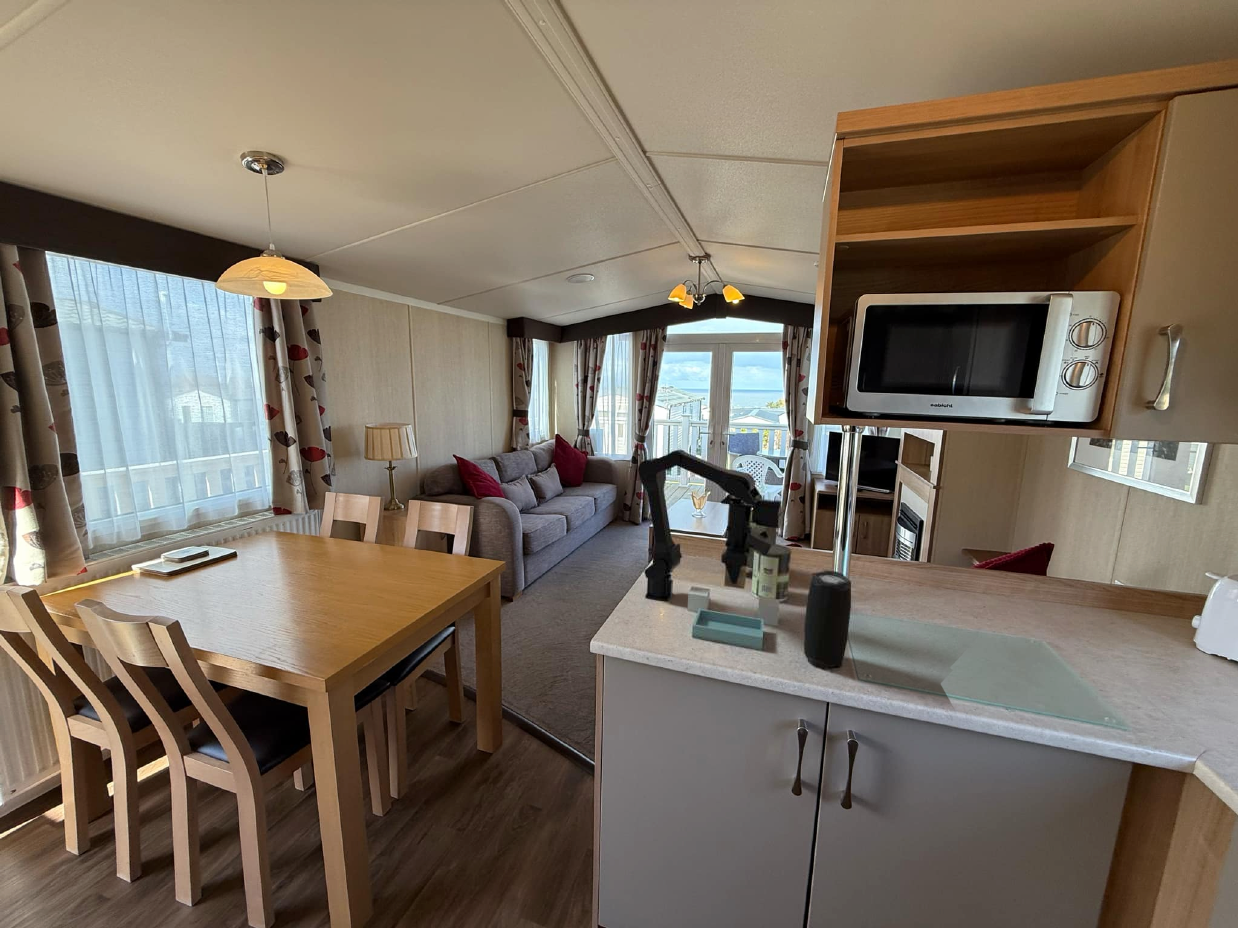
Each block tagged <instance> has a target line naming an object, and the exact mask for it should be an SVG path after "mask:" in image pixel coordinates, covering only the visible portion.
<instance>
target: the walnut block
mask: <svg viewBox="0 0 1238 928" xmlns="http://www.w3.org/2000/svg"><path fill="white" fill-rule="evenodd" d="M724 570H725V571H724V583H723V585H724V586H725V587H729V588H737V589H743V590H744V589H745V586H746V580H747V578H746V577H747V567H746V566H742V567H741V569H740V573H739V576H738V580H737V583H736V584H732V582H731V579H730V576H729V574H728V571H727V569H726V566H725V568H724Z"/></svg>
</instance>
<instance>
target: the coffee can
mask: <svg viewBox="0 0 1238 928" xmlns="http://www.w3.org/2000/svg"><path fill="white" fill-rule="evenodd" d="M791 555H792V549H791V548H790V547H788V546H785V545H781V544H777V543H776V544H772V546H771V548H770V550H769V552H768V554H767V555H764V554H762V553H761V552H759V551H757V550H755V549H754V563H753V568H752V578H751V579H752V580H751V590H750V592H751V595H752V596H753V597H755V598H757V599H758V598H759V597H765V598H771V599H778V600H779V603H780V602H783V601H786V600H787V599H788V592H789V579H790V578H789V577H790V569H791V567H790V566H791Z"/></svg>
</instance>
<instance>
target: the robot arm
mask: <svg viewBox="0 0 1238 928" xmlns="http://www.w3.org/2000/svg"><path fill="white" fill-rule="evenodd" d="M676 466H677V467H679V468H681V469H684V470H685V471H688V472H690V473H691V474H692V473H693V474H694V475H697V476H699V477H701V478H703V479H705V480H708V481H710V482H712V483H715V484H716V485H718V487H719V488H720V489H722V491H724V492H726V493H727V495H726V496H725V498H723V499H721V501H720V504H722V505H728V509H727V513H728V514H727V525H726V540H725V547H726V548H725V549H723V551H722V553H721V560H720V561H721V563H722V564H724V566H725V567H726V569H727V571H728V574H729V576H730V579H731V582H732V584H736V583H737V580H738V576H739V573H740V569H741V567H742V566H747V563H748V553H749V552H750V547H751V548H753V549H755V550H757V551H759V552H761V553H762V554H764V555H767V554H768V552H769V550H770V548H771V546H772V540H771V539H770V538H768V532H766V531H764V530H762V531H761V532H759V533H757V532H756V533H755V532H753V531H751V530H752V526H751V525H750V523H751V510H752V520H753V522H754V523H756V525H759V526H766V527H772V528H776V529H781V526H782V523H783V515H784V512H783V506H782V502H783V501H781V500H776V499H775V500H771V499H763V496H762V495H761V493H760V492H759V490H758V488H757V487H756V481H755V479H754V476H752V474H751V473H747V472H744V471H739V470H734V469H727V468H723V467H720V466H718V465H716V464H714V463H712V462H709V461H708V460H707V461H706V460H704V459H702V458H700V457H697V456H695V455H693V454H690V453H689V452H686V451H685V450H683V449H676V450H672V451H671V452H669V453H667V454H665V455H663V456H660V457H653V458H649V459H645V460H642V461H641V462H640V463H639V465H637V474H638V476H639V477H638V478H639V479H640V483H641V485H642V486H643V488H644V489H645V491H646V494H647V499H648V504H649V505H648V506H649V512H650V518H651V524H652V529H653V536H654V544H653V545H654V546H653V551H652V564H650V566H648V567H647V568H646V569H644V570H643V572H644V576H645V578H646V579H647V583H646V584H647V585H646V594H645V595H644V598H646V599H650V600H656V601H657V600H658V601H662V602H663V601H664V602H667V601H669V600H670V598H671V597H672V595H673V589H674V580H673V579H672V573H673V572H674V570H675V569H676V568H677V567H678V566H679V565H680V564H681V559H682V558H683V555H682V553H681V544H680V543H675V542H674V540H673V538H672V534H671V527H670V521H669V515H668V507H667V501H666V497H665V495H666V494H665V485H666V480H667V471H668V470H670V469H672V468H674V467H676Z"/></svg>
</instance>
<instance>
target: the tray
mask: <svg viewBox="0 0 1238 928" xmlns="http://www.w3.org/2000/svg"><path fill="white" fill-rule="evenodd" d="M691 631H692V632H691V637H692V638H694V639H700V640H705V641H706V640H707V641H710V642H717V643H721V642H722V643H723V644H726V645H727V644H728V645H732V646H738V647H743V648H748V649H755V650H760V651H762V649H763V637H764V636H763V635H764V619H758V617H752V616H751V617H750V616H746V615H739V614H733V613H727V612H721V611H715V610H711V609H708V610H704V609H699V610H698V612H696V615H695V618H694V621H693V623H692V630H691ZM722 643H721V644H722Z"/></svg>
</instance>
